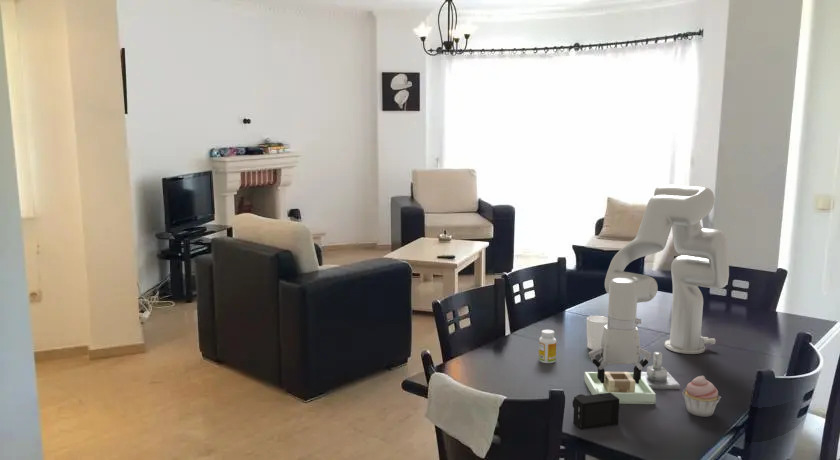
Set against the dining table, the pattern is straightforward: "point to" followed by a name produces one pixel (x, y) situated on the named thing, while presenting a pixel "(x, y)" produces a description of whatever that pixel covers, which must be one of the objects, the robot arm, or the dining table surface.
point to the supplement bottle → (547, 347)
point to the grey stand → (659, 375)
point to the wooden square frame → (619, 382)
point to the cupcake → (701, 397)
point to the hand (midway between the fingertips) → (618, 381)
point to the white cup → (595, 330)
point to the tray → (639, 397)
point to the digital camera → (595, 410)
